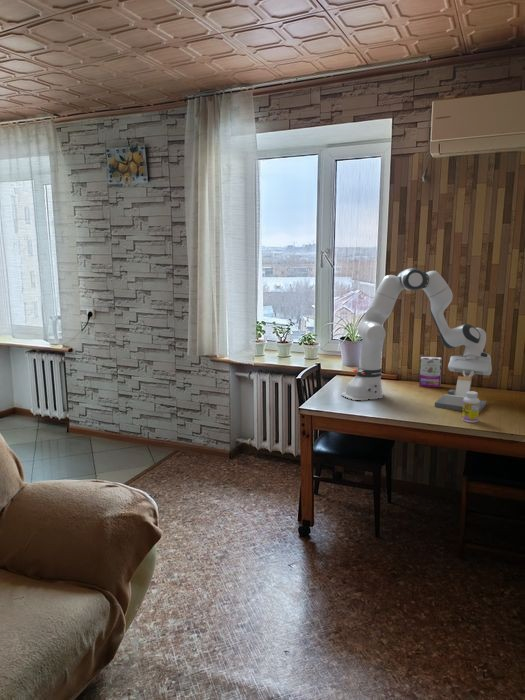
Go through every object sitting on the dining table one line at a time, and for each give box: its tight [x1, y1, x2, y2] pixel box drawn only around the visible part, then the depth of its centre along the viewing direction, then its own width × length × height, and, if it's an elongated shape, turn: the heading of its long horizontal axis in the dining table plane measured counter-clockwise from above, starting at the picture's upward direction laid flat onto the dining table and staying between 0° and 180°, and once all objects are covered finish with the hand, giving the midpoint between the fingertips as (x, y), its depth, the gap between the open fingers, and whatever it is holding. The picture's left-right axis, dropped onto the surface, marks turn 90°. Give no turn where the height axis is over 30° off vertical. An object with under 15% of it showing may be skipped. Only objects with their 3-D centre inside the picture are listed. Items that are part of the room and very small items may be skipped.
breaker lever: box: [455, 375, 473, 397], centre depth 241 cm, size 2×6×12 cm, turn 55°
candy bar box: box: [418, 356, 443, 389], centre depth 277 cm, size 11×5×16 cm, turn 68°
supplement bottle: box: [461, 390, 480, 424], centre depth 218 cm, size 7×7×13 cm
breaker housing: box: [434, 389, 487, 414], centre depth 240 cm, size 16×20×7 cm
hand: (466, 379), depth 246 cm, fingers closed
